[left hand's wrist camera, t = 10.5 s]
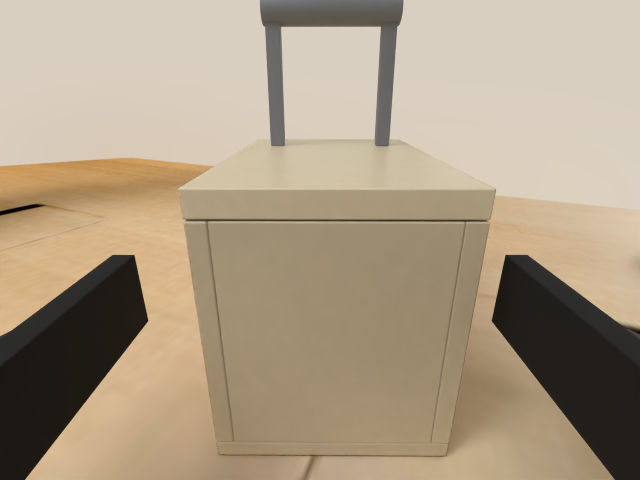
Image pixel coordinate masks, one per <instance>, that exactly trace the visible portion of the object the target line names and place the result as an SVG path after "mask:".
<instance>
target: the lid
mask: <svg viewBox="0 0 640 480" xmlns="http://www.w3.org/2000/svg"><path fill="white" fill-rule="evenodd" d="M260 12H261V19H262V24H263V26H265V32H266V52H267V72H268V93H269V113H270V133H271V140H257V141H255V142H254V143H252V144H251V145H249V146H247V147H246V148H244V149H242V150H241V151H239V152H237V153H236V154H234V155H232V156H231V157H229V158H228V159H226V160H224V161H223V162H221V163H219V164H218V165H216V166H214V167H213V168H211V169H209V170H208V171H206V172H205V173H203V174H201V175H200V176H198V177H196V178H195V179H193V180H191V181H190V182H188V183H186V184H185V185H183V186H182V187H180V188H179V189H178V190H179V197H180V204H181V210H182V217H183V219H245V220H490V219H491V214H492V209H493V204H494V198H495V193H496V189H495V188H493V187H491V186H489V185H487V184H485V183H483V182H481V181H479V180H477V179H475V178H473V177H471V176H470V175H468V174H466V173H464V172H462V171H460V170H458V169H456V168H454V167H452V166H450V165H448V164H446V163H444V162H442V161H440V160H438V159H436V158H434V157H432V156H430V155H428V154H426V153H424V152H423V151H421V150H419V149H417V148H415V147H413V146H411V145H409V144H407V143H405V142H403V141H401V140H389V136H390V122H391V107H392V93H393V78H394V64H395V49H396V35H397V26H399V24H400V22H401V18H402V12H403V0H260ZM378 26H379V27H381V37H380V56H379V74H378V92H377V109H376V128H375V140H285V129H284V100H283V73H282V43H281V27H378Z"/></svg>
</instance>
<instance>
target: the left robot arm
mask: <svg viewBox="0 0 640 480" xmlns="http://www.w3.org/2000/svg"><path fill="white" fill-rule="evenodd" d="M147 322H148V317H147V313H146V308H145V303H144V298H143V294H142V289H141V284H140V279H139V275H138V270H137V265H136V261H135V256H134V255H112V256H111V257H109V258H108V259H107V260H105V261H104V262H103V263H101V264H100V265H99V266H97V267H96V268H95V269H93V270H92V271H91V272H89V273H88V274H87V275H85V276H84V277H83V278H81V279H80V280H79V281H77V282H76V283H75V284H73V285H72V286H71V287H69V288H68V289H67V290H65V291H64V292H63V293H61V294H60V295H59V296H57V297H56V298H55V299H53V300H52V301H51V302H49V303H48V304H47V305H45V306H44V307H43V308H41V309H40V310H39V311H37V312H36V313H35V314H33V315H32V316H31V317H29V318H28V319H26V320H25V321H24V322H22V323H21V324H20V325H18V326H17V327H16V328H14V329H13V330H12V331H10V332H8V333H6V334H4V335H2V336H0V480H25V479H26V478H27V476H28V475H29V474H30V473H31V471H32V470H33V469H34V467H35V466H36V465H37V464H38V462H39V461H40V460H41V458H42V457H43V456H44V455H45V453H46V452H47V451H48V449H49V448H50V447H51V446H52V444H53V443H54V442H55V440H56V439H57V438H58V437H59V435H60V434H61V433H62V431H63V430H64V429H65V428H66V426H67V425H68V424H69V422H70V421H71V420H72V419H73V417H74V416H75V415H76V413H77V412H78V411H79V410H80V408H81V407H82V406H83V404H84V403H85V402H86V401H87V399H88V398H89V397H90V395H91V394H92V393H93V392H94V390H95V389H96V388H97V386H98V385H99V384H100V382H101V381H102V380H103V379H104V377H105V376H106V375H107V373H108V372H109V371H110V370H111V368H112V367H113V366H114V364H115V363H116V362H117V361H118V359H119V358H120V357H121V355H122V354H123V353H124V352H125V350H126V349H127V348H128V346H129V345H130V344H131V343H132V341H133V340H134V339H135V337H136V336H137V335H138V334H139V332H140V331H141V330H142V328H143V327H144V326H145V325H146V323H147ZM492 322H493V323H494V325H495V326H496V327H497V328H498V330H499V331H500V332H501V334H502V335H503V336H504V337H505V339H506V340H507V341H508V343H509V344H510V345H511V346H512V348H513V349H514V350H515V352H516V353H517V354H518V355H519V357H520V358H521V359H522V361H523V362H524V363H525V364H526V366H527V367H528V368H529V370H530V371H531V372H532V373H533V375H534V376H535V377H536V379H537V380H538V381H539V382H540V384H541V385H542V386H543V388H544V389H545V390H546V392H547V393H548V394H549V395H550V397H551V398H552V399H553V401H554V402H555V403H556V404H557V406H558V407H559V408H560V410H561V411H562V412H563V413H564V415H565V416H566V417H567V419H568V420H569V421H570V422H571V424H572V425H573V426H574V428H575V429H576V430H577V431H578V433H579V434H580V435H581V437H582V438H583V439H584V440H585V442H586V443H587V444H588V446H589V447H590V448H591V449H592V451H593V452H594V453H595V455H596V456H597V457H598V458H599V460H600V461H601V462H602V464H603V465H604V466H605V467H606V469H607V470H608V471H609V473H610V474H611V475H612V476H613V478H614V479H615V480H640V335H639V334H637V333H635V332H633V331H631V330H629V329H626V328H624V327H623V326H622V325H620V324H619V323H618V322H616V321H615V320H614V319H612V318H611V317H609V316H608V315H607V314H605V313H604V312H603V311H601V310H600V309H599V308H597V307H596V306H595V305H593V304H592V303H591V302H589V301H588V300H587V299H585V298H584V297H583V296H581V295H580V294H579V293H577V292H576V291H575V290H573V289H572V288H571V287H569V286H568V285H567V284H565V283H564V282H563V281H561V280H560V279H559V278H557V277H556V276H555V275H553V274H552V273H551V272H549V271H548V270H547V269H545V268H544V267H543V266H541V265H540V264H539V263H537V262H536V261H535V260H533V259H532V258H531V257H529V256H528V255H506V256H505V261H504V265H503V270H502V275H501V279H500V284H499V289H498V294H497V298H496V303H495V308H494V313H493V317H492Z"/></svg>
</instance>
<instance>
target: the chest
mask: <svg viewBox="0 0 640 480" xmlns="http://www.w3.org/2000/svg"><path fill="white" fill-rule="evenodd" d="M489 225H490V223H489V222H488V221H487V220H245V219H187V220H186V221H184V228H185V235H186V241H187V248H188V255H189V262H190V268H191V275H192V282H193V288H194V295H195V302H196V308H197V315H198V322H199V329H200V335H201V342H202V349H203V355H204V362H205V369H206V375H207V382H208V389H209V396H210V402H211V409H212V416H213V422H214V429H215V436H216V441H217V449H218V454H224V455H382V456H446V454H447V449H448V443H449V440H450V435H451V429H452V424H453V418H454V413H455V408H456V402H457V397H458V392H459V386H460V381H461V376H462V370H463V365H464V359H465V354H466V349H467V343H468V338H469V333H470V327H471V322H472V317H473V311H474V306H475V300H476V295H477V290H478V284H479V279H480V274H481V268H482V263H483V258H484V252H485V247H486V241H487V236H488V231H489Z"/></svg>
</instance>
